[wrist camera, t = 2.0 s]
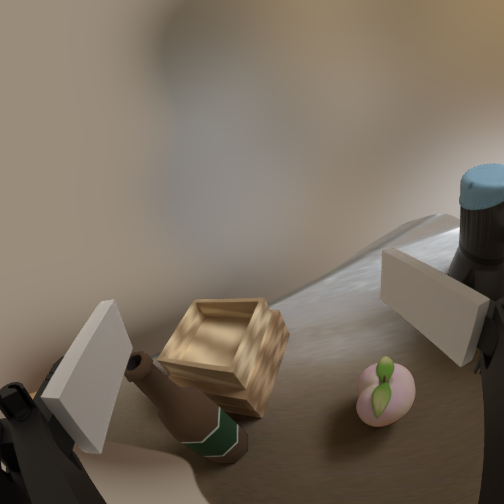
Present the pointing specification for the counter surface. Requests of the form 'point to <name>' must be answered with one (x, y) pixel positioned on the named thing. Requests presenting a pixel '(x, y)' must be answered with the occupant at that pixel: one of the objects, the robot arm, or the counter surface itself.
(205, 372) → the top crate
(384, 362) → the decorative fruit
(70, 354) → the robot arm
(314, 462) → the counter surface
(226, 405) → the base crate
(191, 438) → the beer bottle
